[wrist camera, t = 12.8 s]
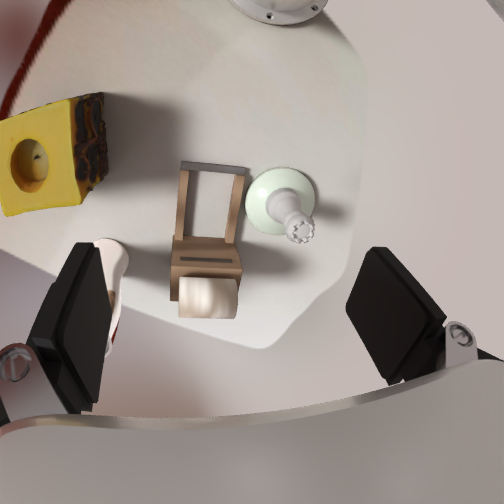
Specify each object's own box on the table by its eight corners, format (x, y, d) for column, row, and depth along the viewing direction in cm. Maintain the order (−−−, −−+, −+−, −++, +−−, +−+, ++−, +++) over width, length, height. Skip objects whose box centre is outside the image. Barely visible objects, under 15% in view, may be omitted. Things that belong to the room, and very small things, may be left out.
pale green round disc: (251, 162, 34) (253, 164, 33) (319, 172, 36) (322, 175, 36) (239, 229, 39) (240, 232, 38) (302, 234, 41) (305, 237, 40)
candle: (104, 90, 26) (72, 94, 18) (111, 173, 31) (85, 206, 23) (31, 108, 24) (-15, 122, 16) (41, 184, 29) (3, 218, 21)
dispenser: (179, 160, 32) (174, 195, 23) (246, 167, 34) (270, 203, 25) (171, 267, 40) (169, 327, 30) (228, 270, 42) (242, 328, 32)
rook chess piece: (305, 196, 37) (331, 225, 30) (285, 224, 38) (306, 257, 32) (277, 179, 35) (299, 205, 28) (257, 209, 36) (273, 241, 30)
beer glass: (132, 237, 36) (110, 318, 24) (132, 280, 39) (117, 365, 27) (83, 233, 34) (43, 310, 22) (87, 276, 37) (59, 356, 25)
